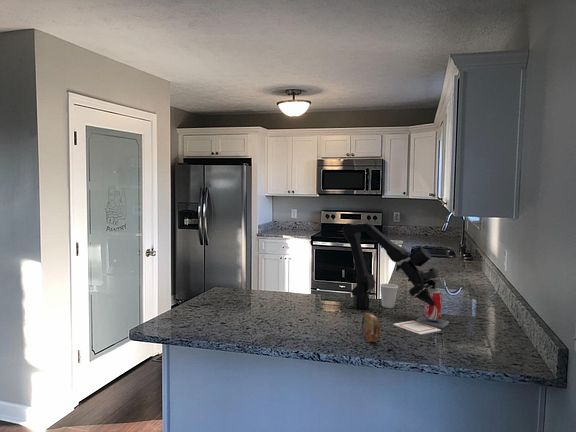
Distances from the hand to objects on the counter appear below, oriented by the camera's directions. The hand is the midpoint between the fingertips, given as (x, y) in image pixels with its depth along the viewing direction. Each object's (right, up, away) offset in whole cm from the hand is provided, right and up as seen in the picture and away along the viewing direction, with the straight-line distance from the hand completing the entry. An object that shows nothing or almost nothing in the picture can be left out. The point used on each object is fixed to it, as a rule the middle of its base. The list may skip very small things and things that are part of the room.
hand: (436, 304), depth 186 cm
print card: (-10, -8, -6) cm, 14 cm away
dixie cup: (-14, -6, +27) cm, 31 cm away
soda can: (-1, -7, +2) cm, 7 cm away
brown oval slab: (-32, -8, -23) cm, 40 cm away
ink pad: (-1, -8, +1) cm, 8 cm away
